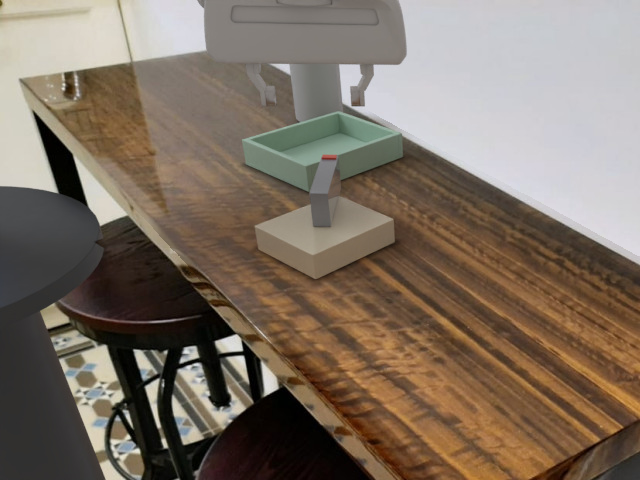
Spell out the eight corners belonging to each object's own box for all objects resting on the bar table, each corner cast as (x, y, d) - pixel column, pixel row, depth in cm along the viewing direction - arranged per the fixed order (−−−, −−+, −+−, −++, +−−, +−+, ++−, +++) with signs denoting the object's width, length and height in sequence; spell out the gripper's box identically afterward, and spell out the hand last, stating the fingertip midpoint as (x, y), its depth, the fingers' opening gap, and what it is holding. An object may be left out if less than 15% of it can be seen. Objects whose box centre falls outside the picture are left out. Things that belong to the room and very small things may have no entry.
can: (311, 112, 123) (303, 34, 116) (352, 118, 121) (346, 40, 114) (287, 126, 117) (276, 45, 110) (329, 133, 116) (321, 52, 108)
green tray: (308, 192, 98) (305, 166, 96) (245, 164, 104) (241, 139, 102) (403, 157, 109) (402, 132, 107) (340, 133, 116) (338, 110, 113)
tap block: (315, 279, 80) (312, 255, 78) (258, 249, 85) (253, 225, 83) (395, 242, 88) (393, 218, 86) (338, 216, 92) (335, 193, 91)
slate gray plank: (331, 226, 83) (327, 191, 81) (313, 226, 83) (308, 191, 81) (341, 187, 92) (338, 154, 90) (325, 187, 92) (321, 153, 89)
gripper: (184, -36, 68) (210, 115, 76) (407, -29, 72) (409, 114, 80) (193, -48, 73) (217, 96, 81) (401, -40, 77) (403, 96, 85)
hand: (314, 105), depth 81 cm, fingers open, 8 cm apart
